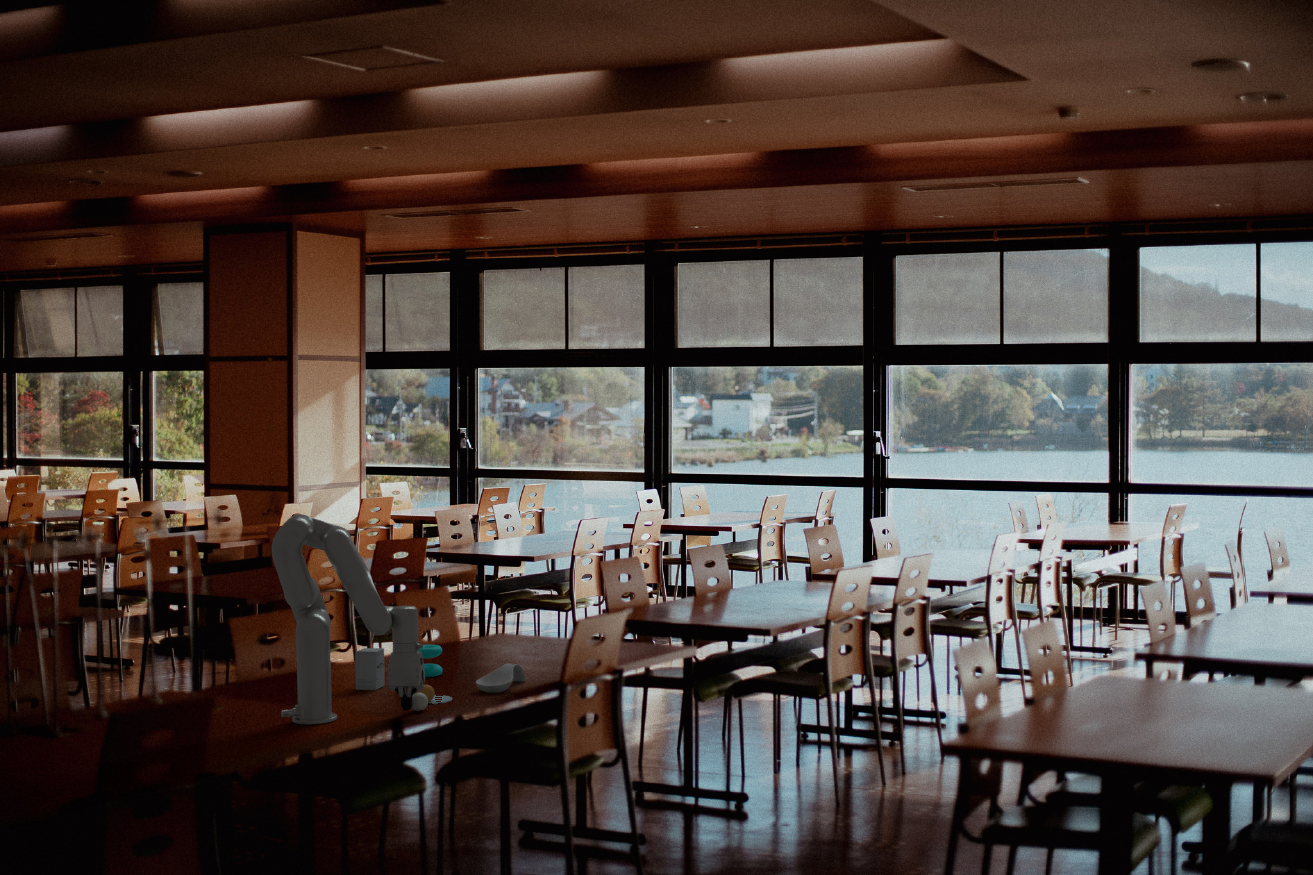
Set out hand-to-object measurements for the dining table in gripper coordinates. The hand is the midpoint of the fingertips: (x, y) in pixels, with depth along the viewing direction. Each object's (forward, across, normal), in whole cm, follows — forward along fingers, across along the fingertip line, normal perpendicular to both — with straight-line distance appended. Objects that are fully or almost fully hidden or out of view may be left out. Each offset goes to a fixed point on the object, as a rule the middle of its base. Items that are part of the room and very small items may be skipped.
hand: (406, 709), depth 396 cm
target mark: (+2, 0, -21) cm, 21 cm away
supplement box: (+2, +26, -39) cm, 47 cm away
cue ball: (-1, -2, -6) cm, 6 cm away
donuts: (+2, +14, -62) cm, 64 cm away
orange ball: (-1, 0, -18) cm, 18 cm away
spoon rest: (+2, -18, -42) cm, 46 cm away
